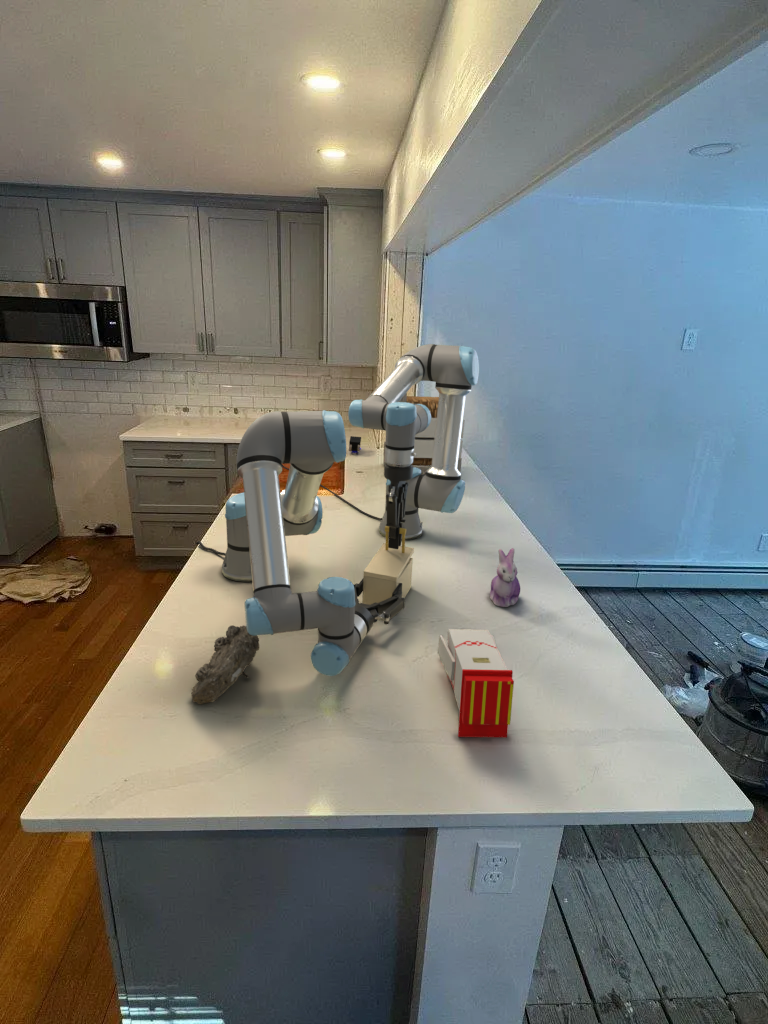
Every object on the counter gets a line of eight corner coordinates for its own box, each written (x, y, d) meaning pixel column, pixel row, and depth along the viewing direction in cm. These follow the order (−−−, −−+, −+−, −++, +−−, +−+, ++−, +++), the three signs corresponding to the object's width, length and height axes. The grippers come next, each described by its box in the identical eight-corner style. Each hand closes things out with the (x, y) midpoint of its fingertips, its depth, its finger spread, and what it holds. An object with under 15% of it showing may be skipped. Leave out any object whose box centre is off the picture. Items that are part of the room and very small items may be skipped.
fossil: (211, 627, 129) (258, 597, 124) (240, 656, 132) (287, 627, 127) (170, 698, 110) (224, 665, 105) (204, 729, 113) (259, 699, 108)
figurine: (502, 611, 151) (509, 560, 146) (479, 594, 159) (485, 545, 154) (530, 604, 155) (537, 554, 150) (506, 588, 163) (512, 540, 158)
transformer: (382, 463, 289) (386, 382, 275) (445, 464, 293) (451, 384, 279) (390, 482, 257) (394, 392, 243) (460, 483, 261) (468, 394, 247)
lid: (383, 546, 161) (383, 519, 158) (413, 551, 159) (415, 524, 155) (363, 575, 147) (363, 546, 143) (396, 581, 144) (397, 552, 141)
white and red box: (488, 613, 130) (523, 677, 101) (484, 667, 133) (517, 744, 104) (435, 612, 130) (455, 676, 101) (432, 666, 133) (451, 743, 103)
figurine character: (360, 458, 303) (361, 448, 316) (361, 444, 299) (361, 435, 313) (348, 457, 302) (349, 447, 316) (348, 444, 299) (349, 434, 312)
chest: (381, 582, 164) (382, 552, 161) (410, 587, 162) (412, 558, 159) (362, 607, 150) (363, 575, 147) (394, 614, 147) (396, 581, 144)
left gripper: (308, 631, 133) (344, 589, 154) (397, 650, 127) (421, 604, 148) (308, 602, 131) (345, 564, 151) (398, 621, 125) (423, 578, 145)
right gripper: (405, 472, 140) (400, 559, 148) (419, 458, 153) (414, 538, 161) (376, 468, 142) (373, 554, 150) (393, 455, 155) (389, 534, 163)
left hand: (383, 584), depth 149 cm, fingers closed on chest, 9 cm apart
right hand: (394, 546), depth 155 cm, fingers closed on lid, 2 cm apart
